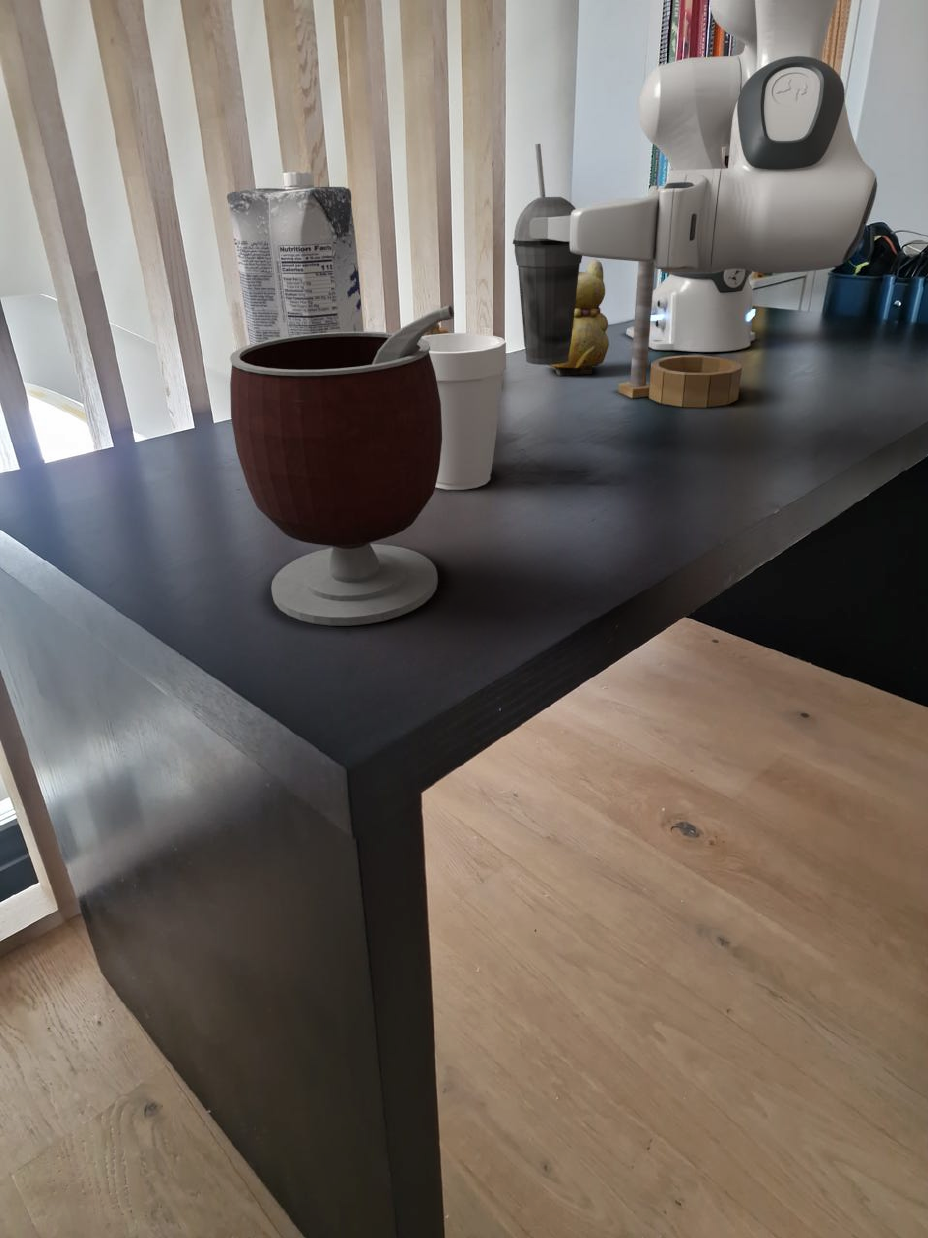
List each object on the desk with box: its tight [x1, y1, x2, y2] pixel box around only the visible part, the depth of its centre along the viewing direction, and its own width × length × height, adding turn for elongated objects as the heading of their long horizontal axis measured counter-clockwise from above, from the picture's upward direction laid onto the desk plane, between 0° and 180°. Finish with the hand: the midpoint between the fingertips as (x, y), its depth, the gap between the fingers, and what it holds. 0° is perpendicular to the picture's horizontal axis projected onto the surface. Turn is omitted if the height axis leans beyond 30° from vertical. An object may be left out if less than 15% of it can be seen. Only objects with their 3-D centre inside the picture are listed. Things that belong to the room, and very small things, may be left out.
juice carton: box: [226, 171, 365, 345], centre depth 84 cm, size 9×10×27 cm
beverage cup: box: [512, 143, 583, 366], centre depth 83 cm, size 7×7×20 cm
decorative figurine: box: [548, 259, 610, 377], centre depth 117 cm, size 10×8×15 cm
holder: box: [618, 260, 743, 409], centre depth 101 cm, size 12×13×22 cm
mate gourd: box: [229, 304, 455, 627], centre depth 57 cm, size 16×14×20 cm
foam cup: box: [421, 332, 507, 491], centre depth 79 cm, size 10×9×13 cm
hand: (539, 224), depth 82 cm, fingers closed on beverage cup, 7 cm apart
